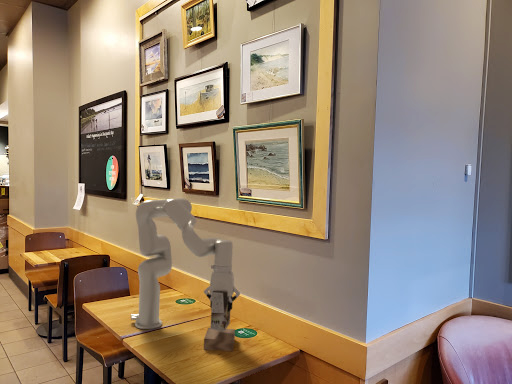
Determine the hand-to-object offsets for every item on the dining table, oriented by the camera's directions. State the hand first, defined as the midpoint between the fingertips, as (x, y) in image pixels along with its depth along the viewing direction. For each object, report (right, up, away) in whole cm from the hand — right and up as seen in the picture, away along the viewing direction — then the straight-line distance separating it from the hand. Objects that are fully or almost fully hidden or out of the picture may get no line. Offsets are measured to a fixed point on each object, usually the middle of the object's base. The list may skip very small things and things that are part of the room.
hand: (221, 309), depth 167 cm
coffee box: (0, -7, 0) cm, 7 cm away
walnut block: (-1, -15, 0) cm, 15 cm away
